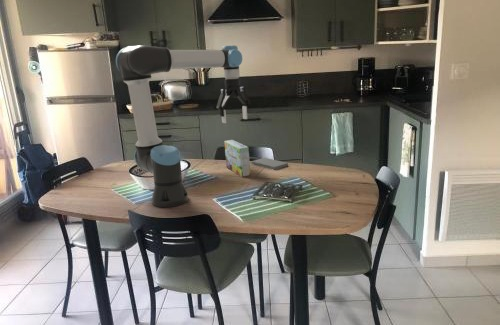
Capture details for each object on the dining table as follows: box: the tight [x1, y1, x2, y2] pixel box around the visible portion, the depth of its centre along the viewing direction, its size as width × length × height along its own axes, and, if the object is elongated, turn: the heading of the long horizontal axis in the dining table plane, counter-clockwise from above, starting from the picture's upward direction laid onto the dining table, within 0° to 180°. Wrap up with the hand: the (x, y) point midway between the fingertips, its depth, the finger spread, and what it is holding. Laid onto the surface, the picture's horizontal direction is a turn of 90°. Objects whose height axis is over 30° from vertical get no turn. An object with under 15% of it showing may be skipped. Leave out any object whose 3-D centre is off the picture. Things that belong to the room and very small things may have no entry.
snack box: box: [223, 139, 251, 178], centre depth 208 cm, size 21×6×15 cm, turn 25°
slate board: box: [251, 157, 289, 171], centre depth 219 cm, size 18×10×2 cm, turn 41°
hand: (234, 120), depth 203 cm, fingers open, 13 cm apart
